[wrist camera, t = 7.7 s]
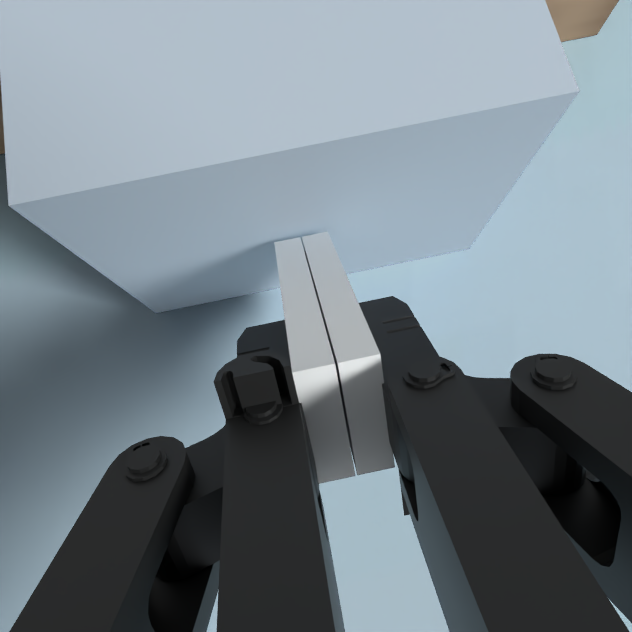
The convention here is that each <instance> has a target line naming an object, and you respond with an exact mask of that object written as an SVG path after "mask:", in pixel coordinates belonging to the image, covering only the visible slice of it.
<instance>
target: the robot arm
mask: <svg viewBox="0 0 632 632" xmlns="http://www.w3.org/2000/svg"><path fill="white" fill-rule="evenodd" d="M302 242H303V245H302ZM274 244H275V252H276V259H277V266H278V274H279V281H280V288H281V295H282V303H283V310H284V317H285V320H282V321H278V322H273V323H268V324H263V325H258V326H253V327H248V328H246V329H245V330H244V332H243V333H242V335H241V336H240V338H239V339H238V341H237V358H236V359H234V360H232V361H230V362H229V363H227V364H225V365H224V366H223V367H222V368H221V369H220V370H219V371H218V372H217V374H216V377H215V380H214V384H215V387H216V391H217V394H218V397H219V400H220V403H221V406H222V409H223V412H224V415H225V418H226V425H225V426H224V427H223V428H222V429H221V430H219V431H218V432H217V433H215V434H214V435H212V436H210V437H208V438H207V439H205V440H203V441H200V442H198V443H196V444H194V445H192V446H189V447H187V448H185V447H184V445H183V443H182V442H180V441H179V440H177V439H175V438H174V437H165V436H159V437H154V438H148V439H145V440H143V441H141V442H138V443H136V444H134V445H132V446H130V447H129V448H128V449H126V450H125V451H124V452H122V453H121V454H119V455H118V457H117V458H116V459H115V460H114V461H113V463H112V464H111V465H110V466H109V468H108V470H107V471H106V473H105V475H104V476H103V478H102V480H101V481H100V483H99V485H98V486H97V488H96V490H95V491H94V493H93V494H92V496H91V498H90V499H89V501H88V503H87V504H86V506H85V508H84V509H83V511H82V513H81V514H80V516H79V518H78V519H77V521H76V523H75V524H74V526H73V528H72V529H71V531H70V532H69V534H68V536H67V537H66V539H65V541H64V542H63V544H62V546H61V547H60V549H59V551H58V552H57V554H56V556H55V557H54V559H53V561H52V562H51V564H50V566H49V567H48V569H47V571H46V572H45V574H44V575H43V577H42V579H41V580H40V582H39V584H38V585H37V587H36V589H35V590H34V592H33V594H32V595H31V597H30V599H29V600H28V602H27V604H26V605H25V607H24V609H23V610H22V612H21V613H20V615H19V617H18V618H17V620H16V622H15V623H14V625H13V627H12V628H11V630H10V632H206V631H207V627H208V624H209V620H210V617H211V613H212V610H213V606H214V603H215V599H216V596H217V592H218V589H219V592H218V615H217V632H345V629H344V623H343V618H342V612H341V606H340V600H339V595H338V589H337V583H336V577H335V572H334V566H333V560H332V555H331V549H330V543H329V537H328V532H327V526H326V520H325V515H324V509H323V504H322V499H321V495H320V491H319V484H320V483H324V482H329V481H334V480H338V479H343V478H348V477H352V476H355V471H354V466H353V460H352V455H353V459H354V463H355V467H356V471H357V475H361V474H365V473H370V472H375V471H379V470H384V469H389V468H393V467H395V465H394V457H395V459H396V462H397V465H398V468H399V476H400V484H401V492H402V500H403V509H404V515H409V514H410V516H411V519H412V522H413V525H414V528H415V531H416V534H417V537H418V540H419V543H420V546H421V549H422V552H423V554H424V557H425V560H426V563H427V566H428V569H429V572H430V575H431V578H432V581H433V584H434V587H435V590H436V593H437V596H438V599H439V602H440V605H441V608H442V611H443V614H444V616H445V619H446V622H447V625H448V628H449V631H450V632H629V630H628V629H627V627H626V626H625V624H624V622H623V621H622V619H621V618H620V616H619V615H618V613H617V612H616V610H615V608H614V607H613V605H612V604H611V602H612V603H613V604H614V605H615V606H616V607H617V608H618V609H619V610H620V611H621V612H622V613H623V614H624V615H625V616H626V617H627V619H628V620H629V621H630V622H631V623H632V392H630V391H629V390H627V389H625V388H624V387H622V386H621V385H619V384H617V383H616V382H614V381H613V380H611V379H609V378H608V377H606V376H604V375H603V374H601V373H600V372H598V371H596V370H595V369H593V368H592V367H590V366H588V365H587V364H585V363H583V362H581V361H579V360H576V359H574V358H572V357H568V356H563V355H558V354H537V355H533V356H529V357H525V358H523V359H522V360H520V361H518V362H517V363H515V365H514V366H513V368H512V370H511V374H510V378H476V377H471V376H466V375H464V374H463V372H462V370H461V369H460V368H459V367H458V366H457V365H456V364H455V363H454V362H452V361H449V360H447V359H445V358H442V357H439V355H438V354H437V352H436V350H435V349H434V347H433V346H432V344H431V342H430V341H429V339H428V337H427V336H426V334H425V332H424V331H423V329H422V328H421V327H420V324H419V323H418V321H417V319H416V318H414V315H413V313H412V311H411V310H410V308H409V306H408V305H407V304H406V303H404V302H402V301H401V300H399V299H397V298H395V297H393V296H391V297H386V298H381V299H376V300H371V301H367V302H362V303H358V301H357V299H356V296H355V294H354V292H353V289H352V287H351V285H350V282H349V280H348V278H347V275H346V273H345V271H344V268H343V266H342V264H341V261H340V259H339V257H338V254H337V252H336V250H335V247H334V245H333V243H332V241H331V238H330V236H329V234H328V231H327V232H322V233H318V234H313V235H308V236H303V237H302V241H301V238H300V237H298V238H293V239H288V240H283V241H278V242H274ZM303 247H304V249H303ZM350 448H351V449H350ZM351 452H352V455H351ZM393 454H394V457H393ZM607 597H608V598H609V599H610V601H611V602H610V601H609V599H608V598H607Z"/></svg>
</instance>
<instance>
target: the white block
mask: <svg viewBox="0 0 632 632" xmlns="http://www.w3.org/2000/svg"><path fill="white" fill-rule="evenodd" d="M0 78H1V94H2V110H3V126H4V142H5V158H6V174H7V190H8V206H9V207H11V208H12V209H14V210H15V211H16V212H18V213H19V214H20V215H22V216H23V217H25V218H26V219H27V220H29V221H30V222H31V223H33V224H34V225H36V226H37V227H38V228H40V229H41V230H42V231H44V232H45V233H47V234H48V235H49V236H51V237H52V238H53V239H55V240H56V241H58V242H59V243H60V244H62V245H63V246H64V247H66V248H67V249H69V250H70V251H71V252H73V253H74V254H75V255H77V256H78V257H80V258H81V259H82V260H84V261H85V262H86V263H88V264H89V265H91V266H92V267H93V268H95V269H96V270H97V271H99V272H100V273H102V274H103V275H104V276H106V277H107V278H108V279H110V280H111V281H112V282H114V283H115V284H117V285H118V286H119V287H121V288H122V289H123V290H125V291H126V292H128V293H129V294H130V295H132V296H133V297H134V298H136V299H137V300H139V301H140V302H141V303H143V304H144V305H145V306H147V307H148V308H150V309H151V310H152V311H154V312H155V313H160V312H165V311H170V310H174V309H179V308H184V307H189V306H194V305H199V304H204V303H209V302H213V301H218V300H223V299H228V298H233V297H238V296H243V295H248V294H252V293H257V292H262V291H267V290H272V289H277V288H280V281H279V274H278V266H277V259H276V252H275V244H274V242H278V241H283V240H288V239H293V238H298V237H300V238H301V241H302V237H303V236H308V235H313V234H318V233H322V232H327V231H328V234H329V236H330V238H331V241H332V243H333V245H334V247H335V250H336V252H337V254H338V257H339V259H340V261H341V264H342V266H343V268H344V271H345V273H346V274H350V273H355V272H360V271H365V270H369V269H374V268H379V267H384V266H389V265H394V264H399V263H404V262H408V261H413V260H418V259H423V258H428V257H433V256H438V255H443V254H447V253H452V252H457V251H462V250H467V249H470V247H471V246H472V244H473V243H474V242H475V240H476V239H477V237H478V236H479V234H480V233H481V232H482V230H483V229H484V227H485V226H486V224H487V223H488V222H489V220H490V219H491V217H492V216H493V214H494V213H495V212H496V210H497V209H498V207H499V206H500V204H501V203H502V202H503V200H504V199H505V197H506V196H507V194H508V193H509V191H510V190H511V189H512V187H513V186H514V184H515V183H516V181H517V180H518V179H519V177H520V176H521V174H522V173H523V171H524V170H525V169H526V167H527V166H528V164H529V163H530V161H531V160H532V159H533V157H534V156H535V154H536V153H537V151H538V150H539V149H540V147H541V146H542V144H543V143H544V141H545V140H546V139H547V137H548V136H549V134H550V133H551V131H552V130H553V129H554V127H555V126H556V124H557V123H558V121H559V120H560V119H561V117H562V116H563V114H564V113H565V111H566V110H567V109H568V107H569V106H570V104H571V103H572V101H573V100H574V99H575V97H576V96H577V94H578V93H579V91H580V90H579V88H578V85H577V82H576V80H575V77H574V75H573V72H572V69H571V67H570V64H569V61H568V59H567V56H566V54H565V51H564V48H563V46H562V43H561V41H560V38H559V35H558V33H557V30H556V27H555V25H554V22H553V20H552V17H551V14H550V12H549V9H548V7H547V4H546V1H545V0H0ZM302 245H303V242H302ZM303 249H304V247H303Z"/></svg>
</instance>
